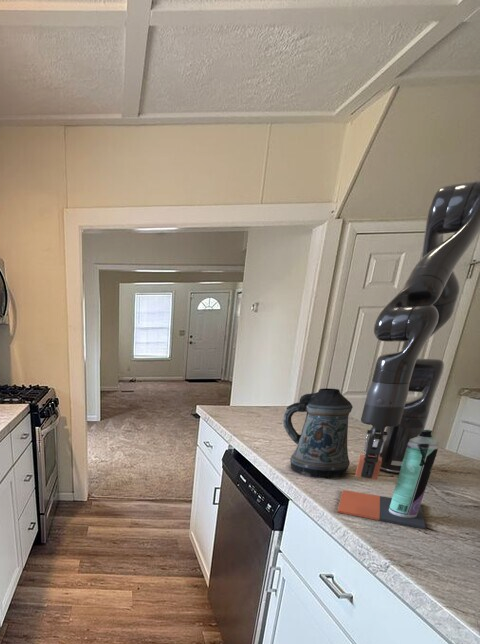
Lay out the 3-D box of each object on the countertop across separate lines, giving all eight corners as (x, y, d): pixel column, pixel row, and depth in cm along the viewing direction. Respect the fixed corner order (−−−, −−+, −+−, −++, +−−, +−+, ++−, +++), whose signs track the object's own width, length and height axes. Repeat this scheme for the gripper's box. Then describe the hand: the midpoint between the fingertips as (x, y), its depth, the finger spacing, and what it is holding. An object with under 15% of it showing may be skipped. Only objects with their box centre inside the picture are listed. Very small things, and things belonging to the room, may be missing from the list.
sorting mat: (342, 491, 110) (343, 489, 110) (419, 504, 101) (420, 502, 101) (337, 512, 98) (337, 510, 97) (424, 529, 89) (425, 526, 89)
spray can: (421, 518, 92) (449, 433, 85) (395, 517, 93) (420, 432, 86) (409, 509, 97) (434, 427, 90) (384, 507, 98) (407, 427, 91)
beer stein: (358, 478, 119) (380, 393, 110) (293, 479, 120) (308, 394, 110) (329, 462, 135) (346, 385, 125) (271, 462, 135) (283, 386, 125)
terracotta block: (356, 471, 100) (360, 454, 98) (377, 474, 97) (381, 457, 96) (355, 476, 96) (359, 458, 95) (377, 479, 94) (381, 461, 92)
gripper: (406, 409, 83) (385, 486, 89) (403, 399, 94) (384, 469, 100) (364, 406, 87) (346, 480, 93) (366, 397, 98) (350, 464, 104)
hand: (366, 474), depth 97 cm, fingers closed on terracotta block, 4 cm apart
